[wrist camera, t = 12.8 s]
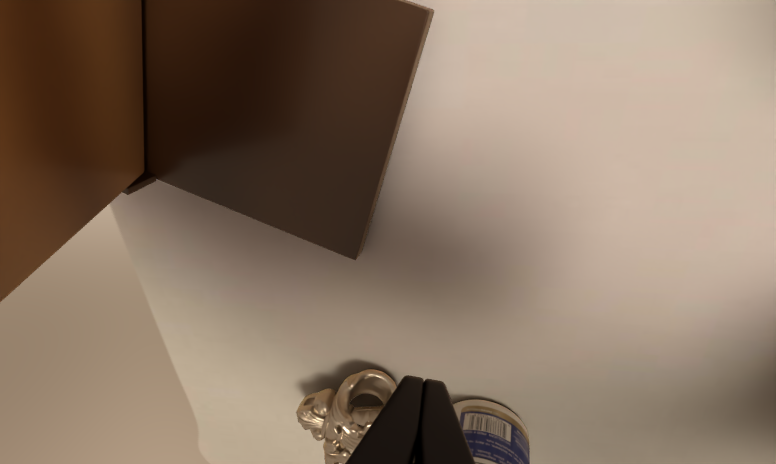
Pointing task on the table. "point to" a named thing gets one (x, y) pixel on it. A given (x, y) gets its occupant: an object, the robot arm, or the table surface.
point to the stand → (279, 106)
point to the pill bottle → (493, 433)
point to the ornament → (344, 413)
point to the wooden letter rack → (64, 122)
